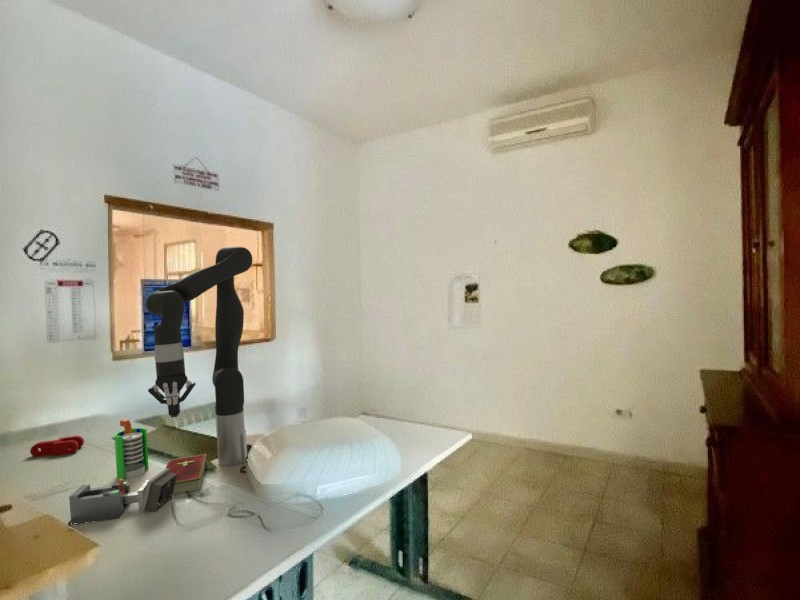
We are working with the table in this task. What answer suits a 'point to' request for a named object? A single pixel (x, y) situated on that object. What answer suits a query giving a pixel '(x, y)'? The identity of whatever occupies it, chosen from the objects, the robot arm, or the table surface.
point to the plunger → (133, 494)
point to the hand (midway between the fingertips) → (174, 416)
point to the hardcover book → (187, 472)
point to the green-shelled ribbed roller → (131, 451)
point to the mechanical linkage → (57, 446)
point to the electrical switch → (158, 491)
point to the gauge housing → (97, 503)
